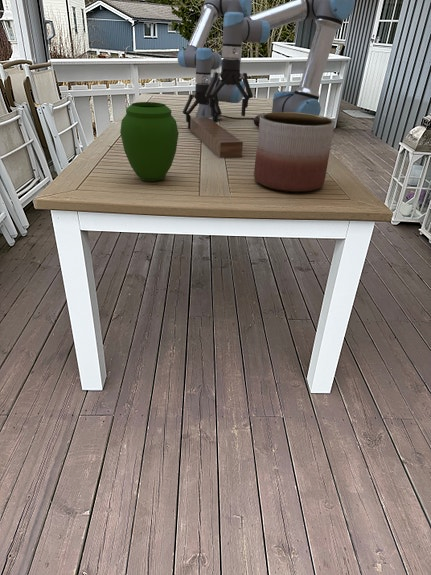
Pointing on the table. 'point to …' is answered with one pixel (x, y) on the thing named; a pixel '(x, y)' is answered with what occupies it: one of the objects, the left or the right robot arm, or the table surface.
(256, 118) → the seashell
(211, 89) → the right robot arm
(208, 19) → the left robot arm
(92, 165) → the table surface
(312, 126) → the planter
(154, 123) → the vase
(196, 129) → the narrow beam
